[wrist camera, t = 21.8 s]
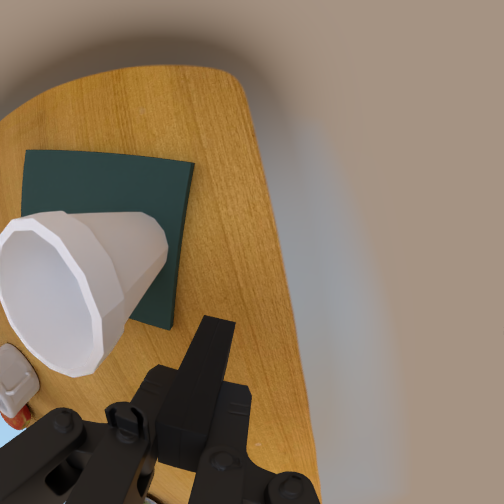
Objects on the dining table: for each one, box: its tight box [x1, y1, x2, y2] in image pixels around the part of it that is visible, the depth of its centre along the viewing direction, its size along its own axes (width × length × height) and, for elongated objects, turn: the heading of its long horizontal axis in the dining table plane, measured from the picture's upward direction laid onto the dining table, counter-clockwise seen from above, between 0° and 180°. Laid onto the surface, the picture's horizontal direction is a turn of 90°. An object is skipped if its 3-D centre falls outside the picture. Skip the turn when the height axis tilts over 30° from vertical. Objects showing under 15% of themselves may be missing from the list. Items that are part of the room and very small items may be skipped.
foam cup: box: [0, 211, 168, 378], centre depth 17 cm, size 10×9×13 cm
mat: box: [21, 150, 195, 331], centre depth 24 cm, size 22×16×1 cm
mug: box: [0, 343, 40, 418], centre depth 28 cm, size 14×11×10 cm
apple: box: [0, 404, 31, 430], centre depth 33 cm, size 8×8×8 cm
